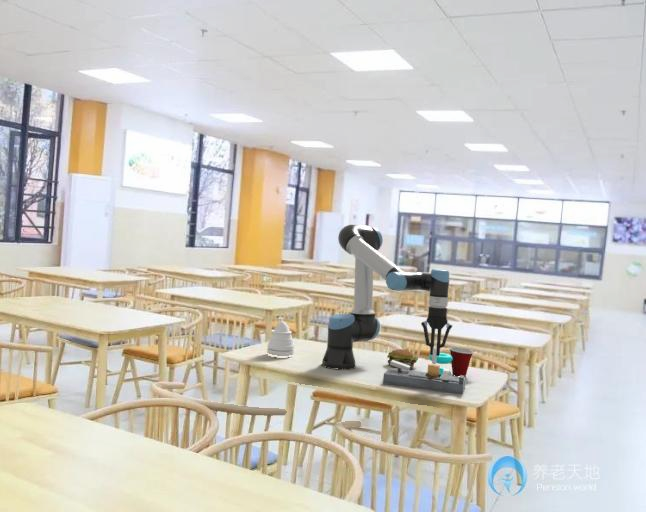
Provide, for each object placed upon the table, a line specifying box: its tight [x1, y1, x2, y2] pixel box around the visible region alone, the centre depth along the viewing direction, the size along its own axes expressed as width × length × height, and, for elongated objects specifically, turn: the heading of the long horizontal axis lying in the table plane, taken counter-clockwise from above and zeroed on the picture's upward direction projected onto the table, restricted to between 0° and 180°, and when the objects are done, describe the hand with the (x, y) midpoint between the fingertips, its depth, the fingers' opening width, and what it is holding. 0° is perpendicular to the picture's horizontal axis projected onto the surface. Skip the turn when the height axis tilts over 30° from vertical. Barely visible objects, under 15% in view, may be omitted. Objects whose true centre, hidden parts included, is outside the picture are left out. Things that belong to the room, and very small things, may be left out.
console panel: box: [382, 367, 467, 395], centre depth 248 cm, size 32×13×6 cm, turn 72°
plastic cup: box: [449, 346, 474, 377], centre depth 269 cm, size 11×11×12 cm
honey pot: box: [266, 317, 295, 356], centre depth 288 cm, size 13×13×18 cm
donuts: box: [429, 352, 453, 376], centre depth 264 cm, size 10×10×10 cm
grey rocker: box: [390, 360, 411, 371], centre depth 254 cm, size 8×4×2 cm, turn 73°
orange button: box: [427, 363, 441, 377], centre depth 249 cm, size 5×5×5 cm
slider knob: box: [442, 368, 451, 380], centre depth 241 cm, size 2×4×4 cm, turn 162°
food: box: [386, 348, 419, 369], centre depth 282 cm, size 14×14×8 cm
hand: (434, 363), depth 249 cm, fingers closed
